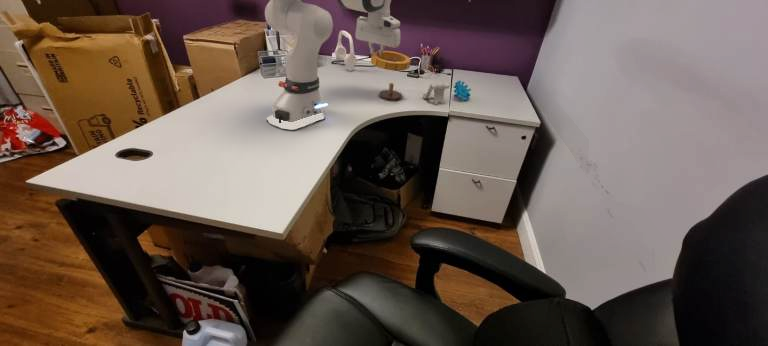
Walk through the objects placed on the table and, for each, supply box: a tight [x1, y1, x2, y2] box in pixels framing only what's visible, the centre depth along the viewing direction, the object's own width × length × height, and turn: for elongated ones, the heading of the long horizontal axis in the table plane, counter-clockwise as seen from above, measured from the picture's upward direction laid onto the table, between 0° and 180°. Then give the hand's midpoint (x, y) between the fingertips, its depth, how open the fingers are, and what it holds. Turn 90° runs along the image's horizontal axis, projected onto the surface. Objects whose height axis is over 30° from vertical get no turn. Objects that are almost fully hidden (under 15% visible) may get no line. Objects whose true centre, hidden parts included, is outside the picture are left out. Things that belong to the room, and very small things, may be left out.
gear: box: [453, 79, 472, 102], centre depth 152 cm, size 11×6×10 cm
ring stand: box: [379, 82, 402, 102], centre depth 146 cm, size 10×10×6 cm
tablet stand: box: [422, 83, 450, 105], centre depth 145 cm, size 9×8×8 cm
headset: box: [332, 30, 357, 72], centre depth 174 cm, size 20×7×18 cm, turn 26°
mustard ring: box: [370, 50, 412, 72], centre depth 139 cm, size 17×17×3 cm
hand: (376, 54), depth 140 cm, fingers closed on mustard ring, 2 cm apart
